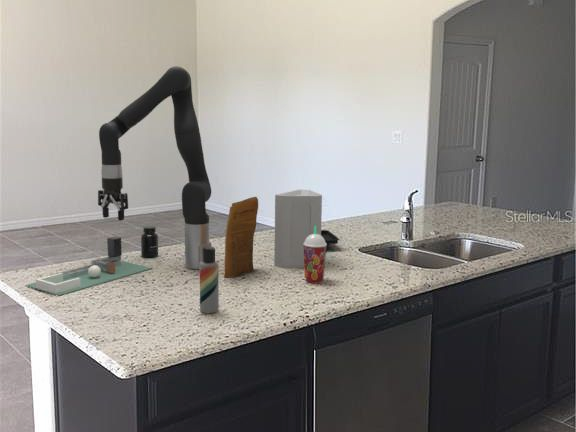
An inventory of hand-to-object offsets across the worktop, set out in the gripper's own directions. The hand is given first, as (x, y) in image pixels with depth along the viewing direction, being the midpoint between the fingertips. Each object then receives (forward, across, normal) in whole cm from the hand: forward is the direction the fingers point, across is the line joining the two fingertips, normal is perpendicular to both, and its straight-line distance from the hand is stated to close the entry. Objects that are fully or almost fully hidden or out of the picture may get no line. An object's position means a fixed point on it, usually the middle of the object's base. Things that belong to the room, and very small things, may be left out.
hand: (113, 218), depth 236 cm
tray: (+18, -42, -75) cm, 88 cm away
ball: (+16, -8, +16) cm, 24 cm away
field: (+18, -6, +16) cm, 25 cm away
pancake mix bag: (+18, -45, -21) cm, 53 cm away
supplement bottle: (+18, 0, -18) cm, 26 cm away
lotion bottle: (+18, -63, +17) cm, 68 cm away
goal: (+18, -8, +31) cm, 37 cm away
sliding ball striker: (+17, -4, +4) cm, 18 cm away
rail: (+18, 0, +13) cm, 22 cm away
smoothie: (+18, -72, -29) cm, 80 cm away
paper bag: (+18, -56, -46) cm, 75 cm away
